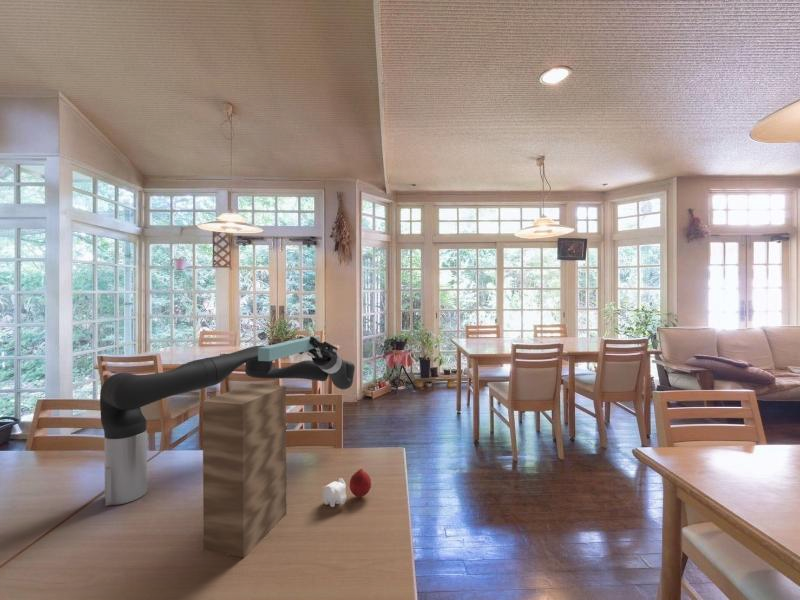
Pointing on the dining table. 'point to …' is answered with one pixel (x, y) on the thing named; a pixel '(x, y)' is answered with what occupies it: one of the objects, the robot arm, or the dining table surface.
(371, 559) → the dining table surface
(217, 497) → the pedestal
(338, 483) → the elephant figurine
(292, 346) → the rail
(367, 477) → the onion
